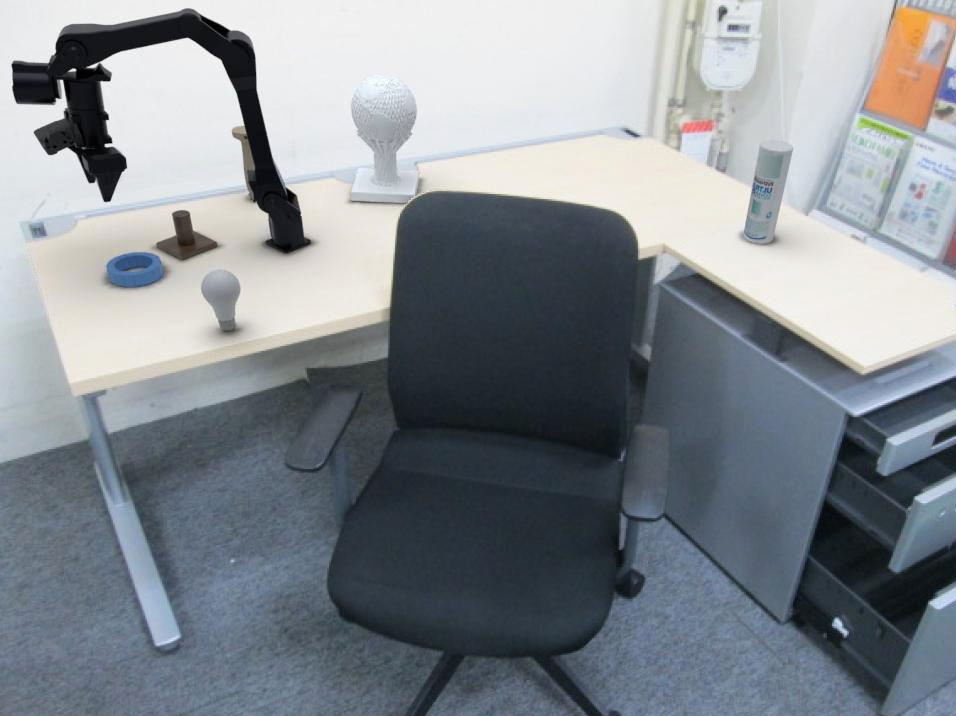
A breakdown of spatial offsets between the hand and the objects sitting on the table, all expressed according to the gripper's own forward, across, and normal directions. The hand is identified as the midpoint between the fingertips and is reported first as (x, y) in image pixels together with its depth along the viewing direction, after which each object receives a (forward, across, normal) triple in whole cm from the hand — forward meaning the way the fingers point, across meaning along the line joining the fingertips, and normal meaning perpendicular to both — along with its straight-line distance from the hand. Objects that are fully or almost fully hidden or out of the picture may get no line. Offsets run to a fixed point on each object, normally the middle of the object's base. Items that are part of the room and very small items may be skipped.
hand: (99, 192), depth 164 cm
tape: (+13, +9, +2) cm, 16 cm away
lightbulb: (+12, +36, +9) cm, 39 cm away
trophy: (+9, -2, +60) cm, 61 cm away
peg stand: (+12, +2, +14) cm, 19 cm away
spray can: (+3, +59, +114) cm, 129 cm away
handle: (+11, -13, +34) cm, 39 cm away
